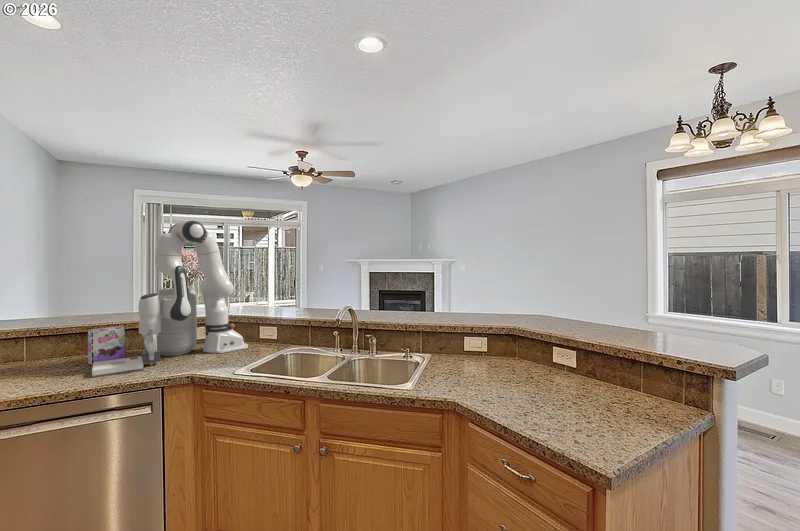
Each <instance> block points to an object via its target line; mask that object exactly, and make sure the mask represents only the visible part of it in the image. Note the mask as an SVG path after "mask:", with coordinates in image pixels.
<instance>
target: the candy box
mask: <svg viewBox="0 0 800 531" xmlns="http://www.w3.org/2000/svg"><path fill="white" fill-rule="evenodd" d="M126 350H127V349H126V327H125V326H123V325H117V326H110V327H109V326H108V327H101V328H93V329H87V363H88V364H89V365H90V366H92V367H93V362H100V361H108V360H116V359H123V358H127V356H126V355H127V354H126V353H127V352H126Z"/></svg>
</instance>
